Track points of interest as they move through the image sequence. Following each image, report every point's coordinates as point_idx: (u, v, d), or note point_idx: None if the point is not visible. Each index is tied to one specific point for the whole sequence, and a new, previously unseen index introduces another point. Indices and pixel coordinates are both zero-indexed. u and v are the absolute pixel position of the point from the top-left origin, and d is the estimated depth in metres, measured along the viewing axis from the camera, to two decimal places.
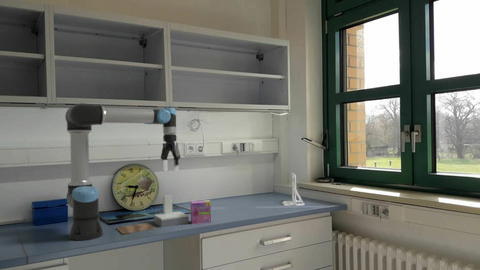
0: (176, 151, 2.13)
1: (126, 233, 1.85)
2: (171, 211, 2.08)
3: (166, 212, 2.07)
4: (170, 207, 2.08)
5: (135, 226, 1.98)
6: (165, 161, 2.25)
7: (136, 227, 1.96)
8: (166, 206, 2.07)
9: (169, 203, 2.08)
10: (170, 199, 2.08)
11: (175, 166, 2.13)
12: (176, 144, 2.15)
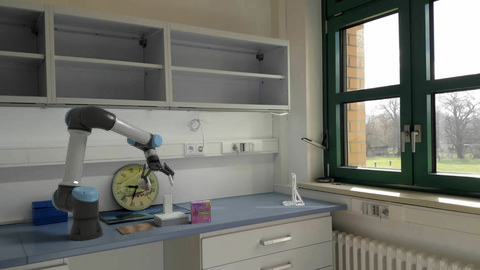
0: None
1: (126, 233, 1.85)
2: (171, 211, 2.08)
3: (166, 212, 2.07)
4: (170, 207, 2.08)
5: (135, 226, 1.98)
6: None
7: (136, 227, 1.96)
8: (166, 206, 2.07)
9: (169, 203, 2.08)
10: (170, 199, 2.08)
11: None
12: None
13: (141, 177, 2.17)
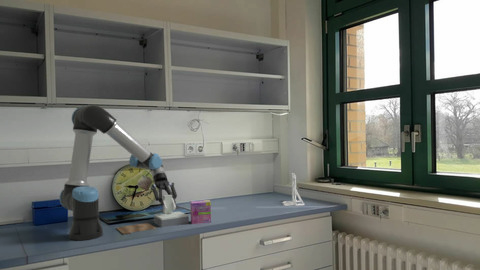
0: None
1: (126, 233, 1.85)
2: (171, 211, 2.08)
3: (166, 212, 2.07)
4: (170, 207, 2.08)
5: (135, 226, 1.98)
6: None
7: (136, 227, 1.96)
8: None
9: (169, 203, 2.08)
10: (170, 199, 2.08)
11: None
12: None
13: (157, 199, 2.07)
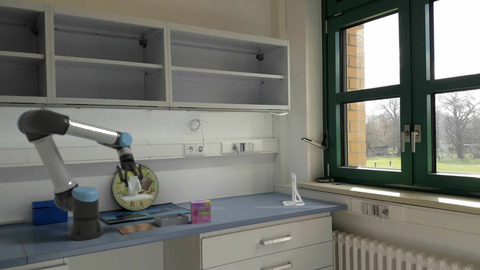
0: None
1: (126, 233, 1.85)
2: (137, 193, 1.99)
3: (131, 194, 1.97)
4: (135, 189, 1.98)
5: (135, 226, 1.98)
6: None
7: (136, 227, 1.96)
8: (131, 188, 1.97)
9: (134, 184, 1.98)
10: (135, 180, 1.98)
11: None
12: None
13: (122, 181, 1.97)
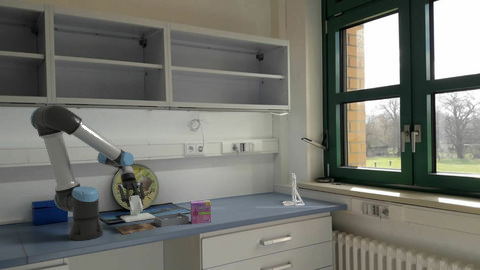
0: None
1: (126, 233, 1.85)
2: (138, 212, 1.99)
3: (133, 213, 1.98)
4: (137, 208, 1.99)
5: (135, 226, 1.98)
6: None
7: (136, 227, 1.96)
8: (133, 207, 1.98)
9: (136, 204, 1.99)
10: (137, 200, 1.99)
11: None
12: (141, 186, 2.09)
13: (123, 200, 1.98)
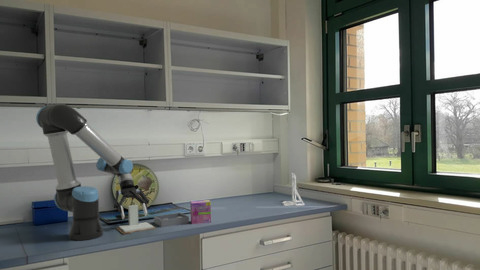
0: None
1: (126, 233, 1.85)
2: (137, 222, 1.99)
3: (131, 223, 1.97)
4: (136, 218, 1.98)
5: None
6: None
7: None
8: (131, 217, 1.97)
9: (135, 214, 1.98)
10: (136, 209, 1.98)
11: None
12: None
13: (114, 206, 1.96)
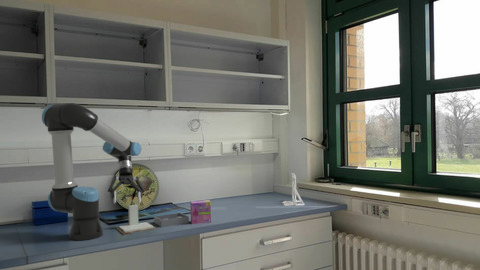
0: None
1: (126, 233, 1.85)
2: (137, 222, 1.99)
3: (131, 223, 1.97)
4: (136, 218, 1.98)
5: None
6: None
7: None
8: (131, 217, 1.97)
9: (135, 214, 1.98)
10: (136, 209, 1.98)
11: None
12: None
13: (108, 190, 2.09)
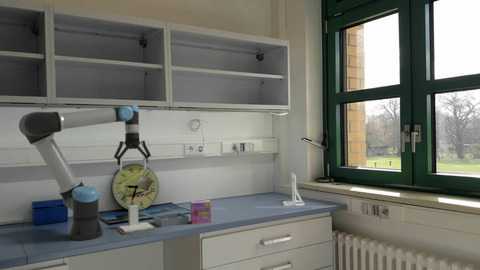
0: None
1: (126, 233, 1.85)
2: (137, 222, 1.99)
3: (131, 223, 1.97)
4: (136, 218, 1.98)
5: None
6: None
7: None
8: (131, 217, 1.97)
9: (135, 214, 1.98)
10: (136, 209, 1.98)
11: None
12: None
13: None
